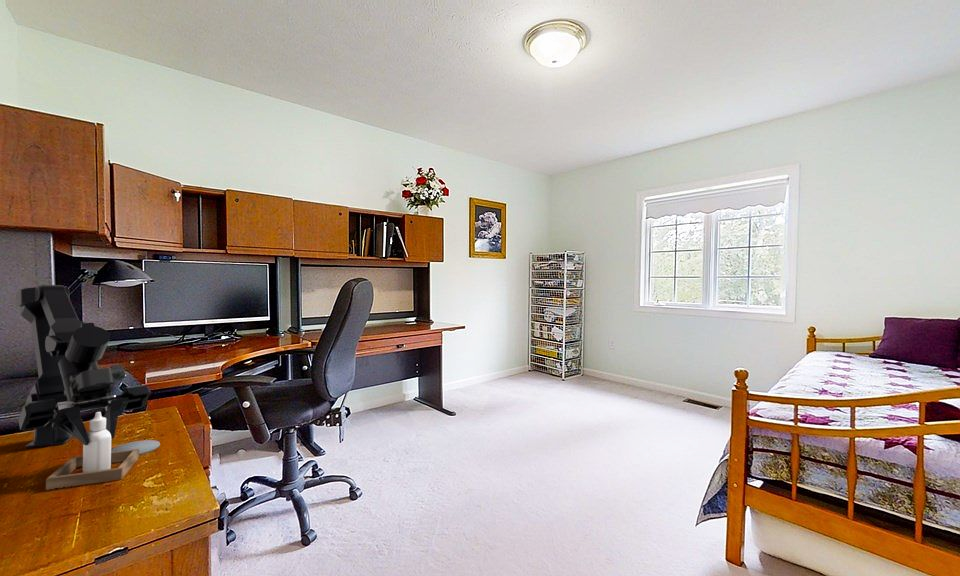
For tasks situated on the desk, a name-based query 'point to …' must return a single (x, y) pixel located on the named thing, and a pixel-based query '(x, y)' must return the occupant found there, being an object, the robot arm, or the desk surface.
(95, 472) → the walnut collar
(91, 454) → the eye dropper bottle
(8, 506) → the desk surface
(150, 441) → the rubber coaster
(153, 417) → the desk surface
